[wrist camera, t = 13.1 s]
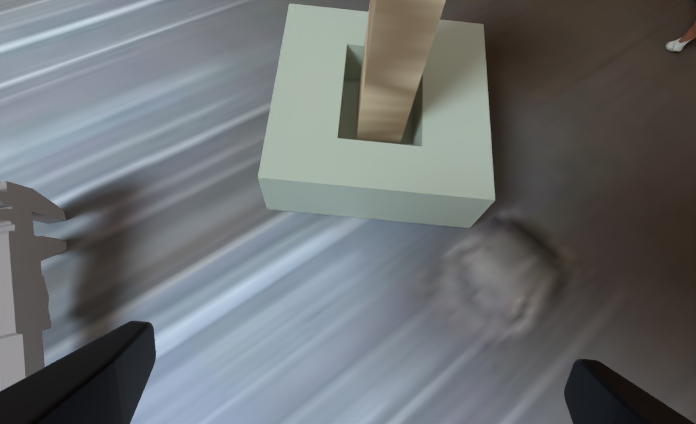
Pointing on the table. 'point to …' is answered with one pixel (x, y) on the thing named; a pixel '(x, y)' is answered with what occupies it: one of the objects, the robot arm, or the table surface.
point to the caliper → (24, 280)
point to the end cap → (376, 157)
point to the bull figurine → (682, 40)
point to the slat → (393, 65)
